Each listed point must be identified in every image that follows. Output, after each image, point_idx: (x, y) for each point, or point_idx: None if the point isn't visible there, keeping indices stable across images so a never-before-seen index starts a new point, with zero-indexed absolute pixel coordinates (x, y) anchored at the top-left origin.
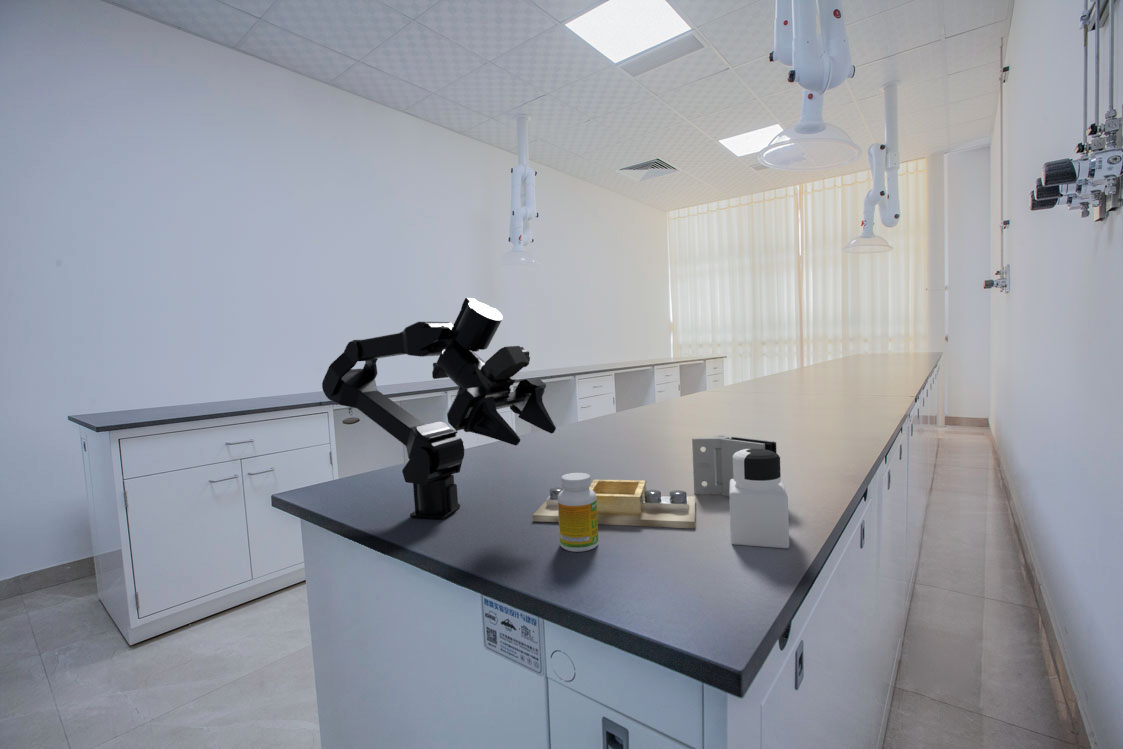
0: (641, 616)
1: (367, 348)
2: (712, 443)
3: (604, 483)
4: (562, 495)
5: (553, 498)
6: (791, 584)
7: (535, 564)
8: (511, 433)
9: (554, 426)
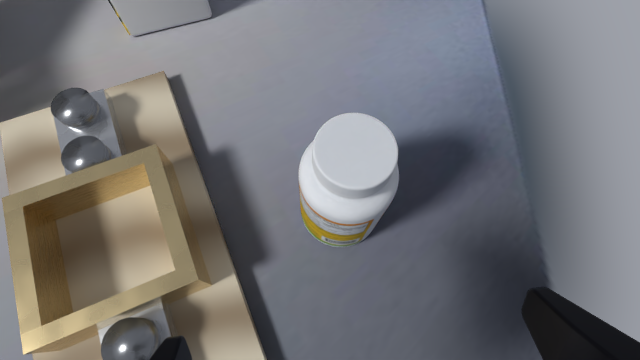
0: (459, 34)
1: None
2: None
3: (43, 306)
4: (392, 183)
5: None
6: None
7: (451, 226)
8: (602, 321)
9: (166, 345)
